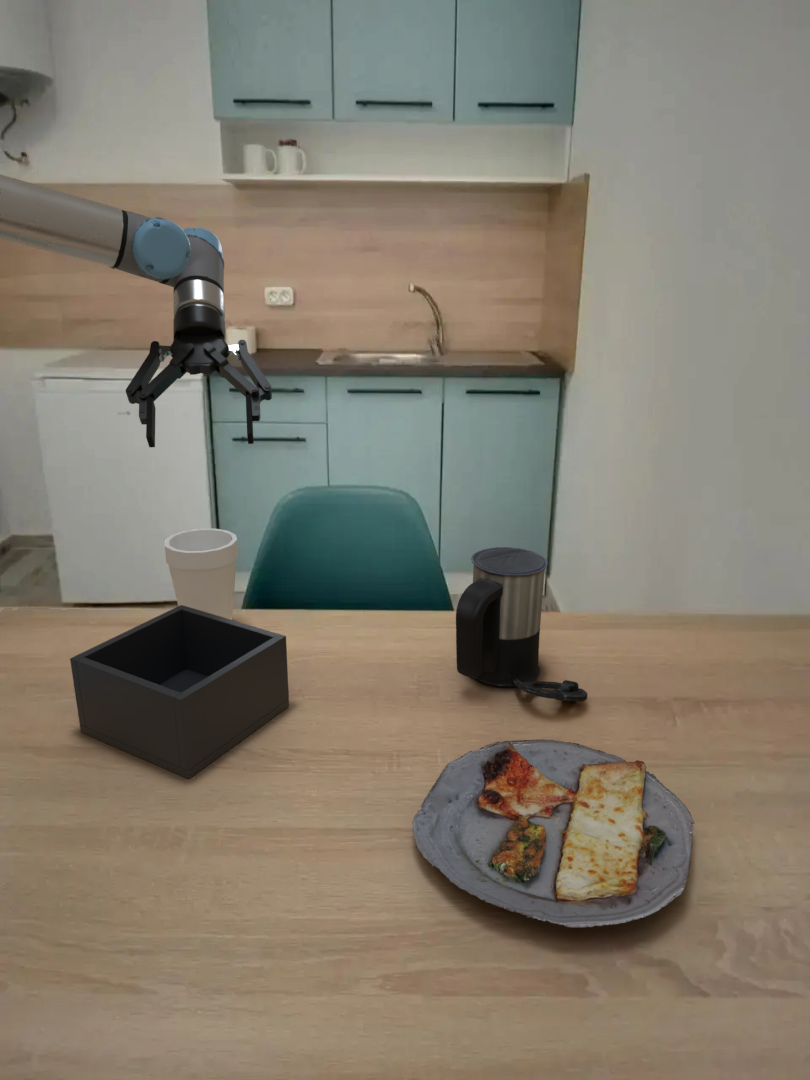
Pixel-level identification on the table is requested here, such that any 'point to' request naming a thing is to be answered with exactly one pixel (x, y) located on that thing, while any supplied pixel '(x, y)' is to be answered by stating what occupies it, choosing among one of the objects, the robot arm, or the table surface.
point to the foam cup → (203, 569)
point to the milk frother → (506, 624)
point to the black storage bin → (181, 687)
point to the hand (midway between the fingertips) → (200, 440)
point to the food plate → (557, 832)
